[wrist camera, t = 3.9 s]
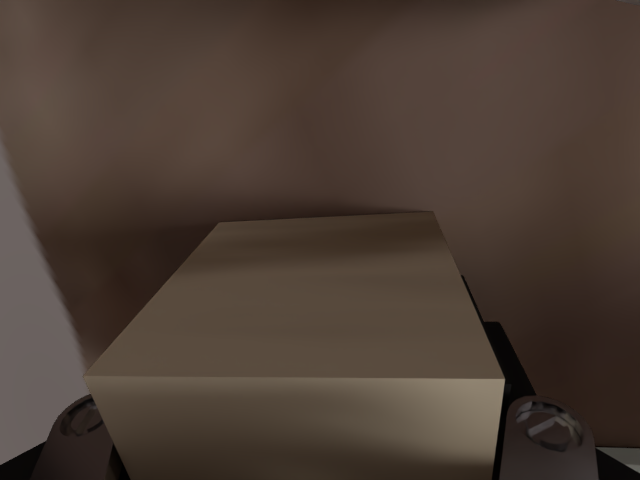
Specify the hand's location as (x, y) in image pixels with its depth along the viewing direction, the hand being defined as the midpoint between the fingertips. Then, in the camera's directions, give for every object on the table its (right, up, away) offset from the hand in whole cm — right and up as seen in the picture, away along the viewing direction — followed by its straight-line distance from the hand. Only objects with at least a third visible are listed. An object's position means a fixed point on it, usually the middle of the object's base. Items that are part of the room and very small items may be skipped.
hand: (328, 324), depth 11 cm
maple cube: (0, 0, +1) cm, 1 cm away
